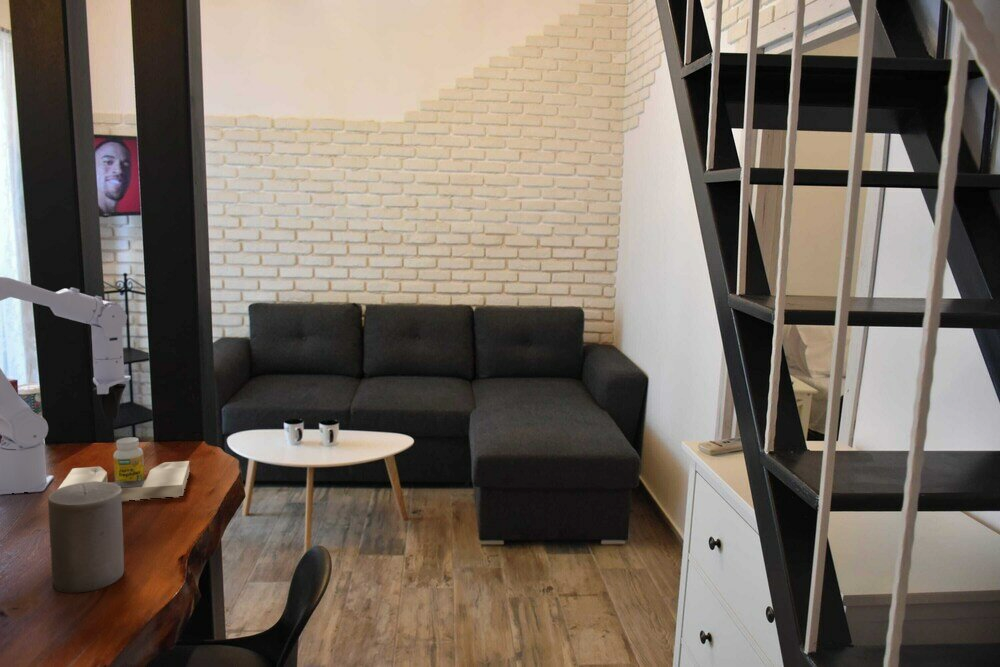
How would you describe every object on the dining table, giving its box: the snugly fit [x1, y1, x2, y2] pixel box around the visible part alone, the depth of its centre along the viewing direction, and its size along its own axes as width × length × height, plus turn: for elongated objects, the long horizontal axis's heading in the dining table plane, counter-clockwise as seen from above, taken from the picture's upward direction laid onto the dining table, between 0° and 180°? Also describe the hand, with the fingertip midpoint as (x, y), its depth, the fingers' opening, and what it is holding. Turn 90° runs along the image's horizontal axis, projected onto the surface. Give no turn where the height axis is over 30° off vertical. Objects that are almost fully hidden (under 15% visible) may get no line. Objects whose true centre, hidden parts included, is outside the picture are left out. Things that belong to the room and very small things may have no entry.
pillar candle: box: [47, 481, 125, 594], centre depth 109 cm, size 10×10×15 cm
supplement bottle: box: [112, 436, 146, 482], centre depth 145 cm, size 5×5×10 cm
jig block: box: [57, 460, 191, 502], centre depth 145 cm, size 22×14×3 cm, turn 108°
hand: (111, 418), depth 156 cm, fingers closed
